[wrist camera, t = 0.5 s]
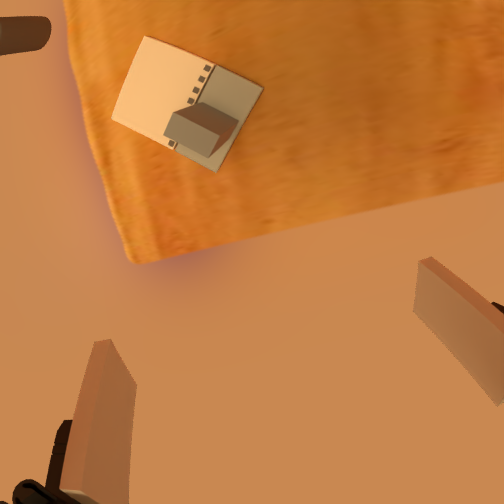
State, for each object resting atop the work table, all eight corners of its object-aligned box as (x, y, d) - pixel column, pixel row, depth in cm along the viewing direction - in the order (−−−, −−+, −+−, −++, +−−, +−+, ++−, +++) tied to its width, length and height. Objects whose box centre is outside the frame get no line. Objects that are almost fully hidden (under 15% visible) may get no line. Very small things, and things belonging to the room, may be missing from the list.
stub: (178, 148, 39) (142, 173, 31) (219, 65, 33) (189, 64, 24) (218, 169, 40) (192, 201, 31) (264, 87, 34) (249, 93, 25)
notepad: (116, 116, 38) (110, 119, 37) (149, 36, 32) (143, 35, 30) (177, 147, 39) (172, 150, 38) (217, 64, 33) (213, 64, 32)
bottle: (36, 12, 29) (-37, 16, 17) (57, 21, 30) (-20, 24, 18) (23, 44, 32) (-49, 57, 20) (42, 55, 33) (-33, 68, 21)
